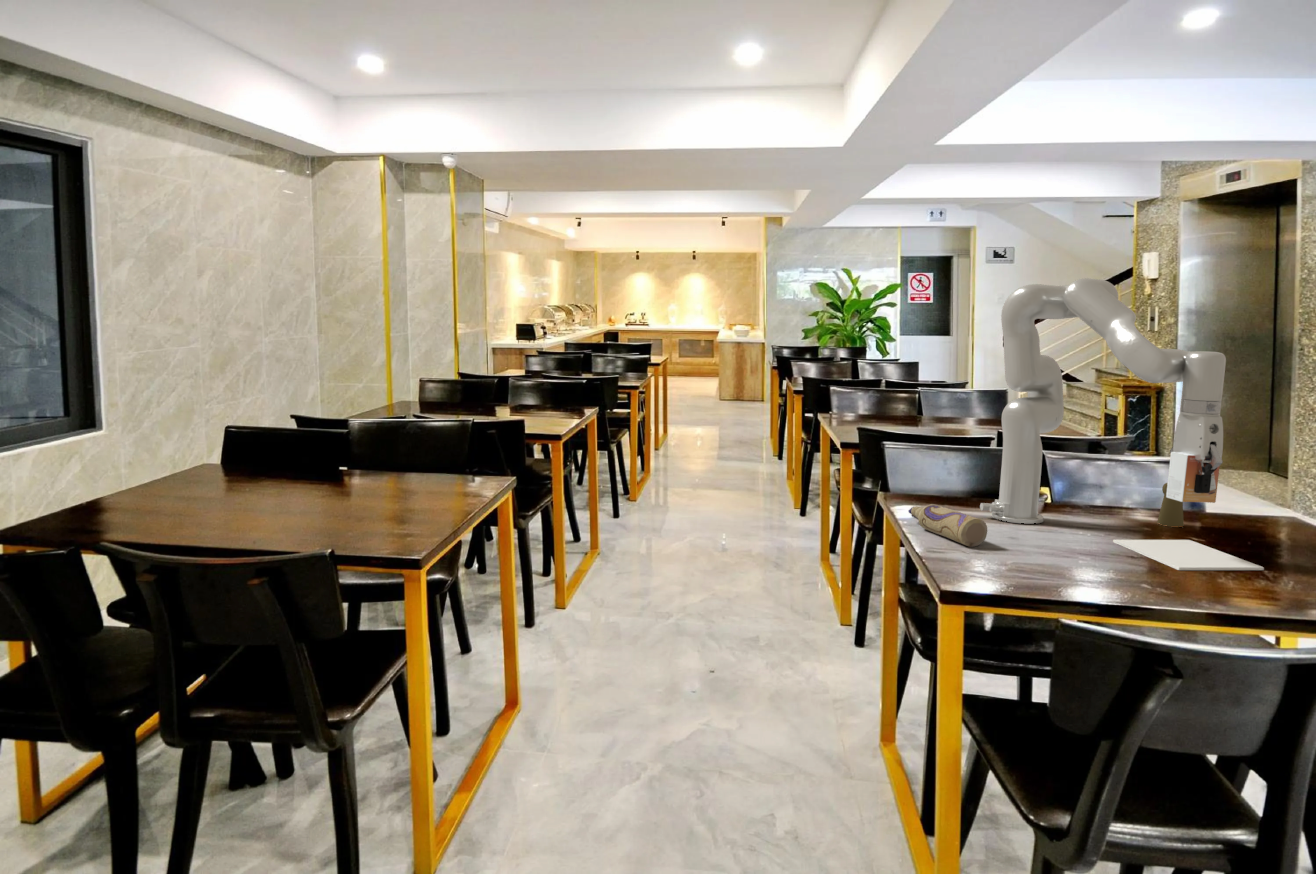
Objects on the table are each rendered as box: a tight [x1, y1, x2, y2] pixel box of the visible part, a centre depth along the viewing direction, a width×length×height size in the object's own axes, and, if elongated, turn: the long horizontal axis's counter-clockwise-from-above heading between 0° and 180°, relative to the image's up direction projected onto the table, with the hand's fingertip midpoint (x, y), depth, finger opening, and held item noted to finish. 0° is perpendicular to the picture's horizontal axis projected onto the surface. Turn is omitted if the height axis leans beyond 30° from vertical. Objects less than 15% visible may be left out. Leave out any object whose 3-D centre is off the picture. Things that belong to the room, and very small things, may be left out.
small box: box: [1166, 452, 1221, 504], centre depth 194 cm, size 8×6×10 cm
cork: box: [1156, 482, 1185, 527], centre depth 226 cm, size 6×6×11 cm
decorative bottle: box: [908, 503, 988, 548], centre depth 211 cm, size 26×8×7 cm, turn 16°
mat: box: [1112, 539, 1265, 571], centre depth 196 cm, size 19×23×1 cm
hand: (1191, 489), depth 194 cm, fingers closed on small box, 5 cm apart
